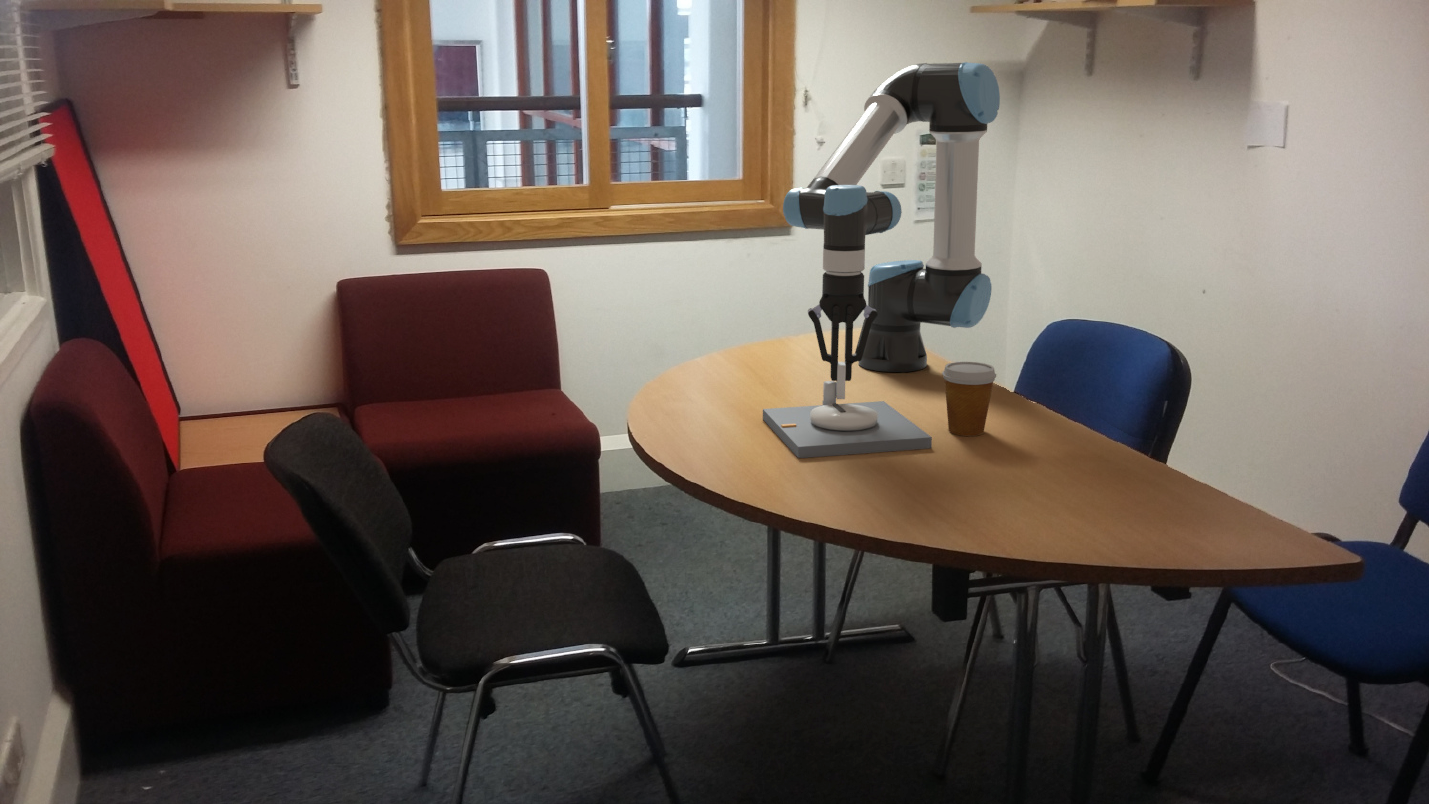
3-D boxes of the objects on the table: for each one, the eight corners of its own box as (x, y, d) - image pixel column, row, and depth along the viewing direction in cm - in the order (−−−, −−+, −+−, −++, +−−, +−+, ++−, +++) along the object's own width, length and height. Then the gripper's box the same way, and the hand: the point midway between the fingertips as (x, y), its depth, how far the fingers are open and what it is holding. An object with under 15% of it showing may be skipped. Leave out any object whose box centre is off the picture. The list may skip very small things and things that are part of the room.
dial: (886, 428, 206) (887, 400, 204) (821, 432, 203) (822, 405, 202) (857, 404, 221) (858, 378, 219) (796, 408, 218) (796, 382, 217)
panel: (883, 411, 224) (883, 399, 224) (931, 448, 202) (931, 435, 201) (762, 419, 219) (762, 407, 219) (798, 458, 197) (798, 445, 196)
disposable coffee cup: (993, 440, 206) (997, 374, 203) (938, 437, 208) (942, 372, 204) (992, 425, 215) (996, 362, 212) (939, 422, 217) (942, 359, 213)
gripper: (877, 268, 214) (873, 392, 221) (806, 268, 215) (804, 392, 221) (881, 275, 207) (877, 403, 213) (808, 275, 208) (806, 402, 214)
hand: (840, 397), depth 217 cm, fingers closed
